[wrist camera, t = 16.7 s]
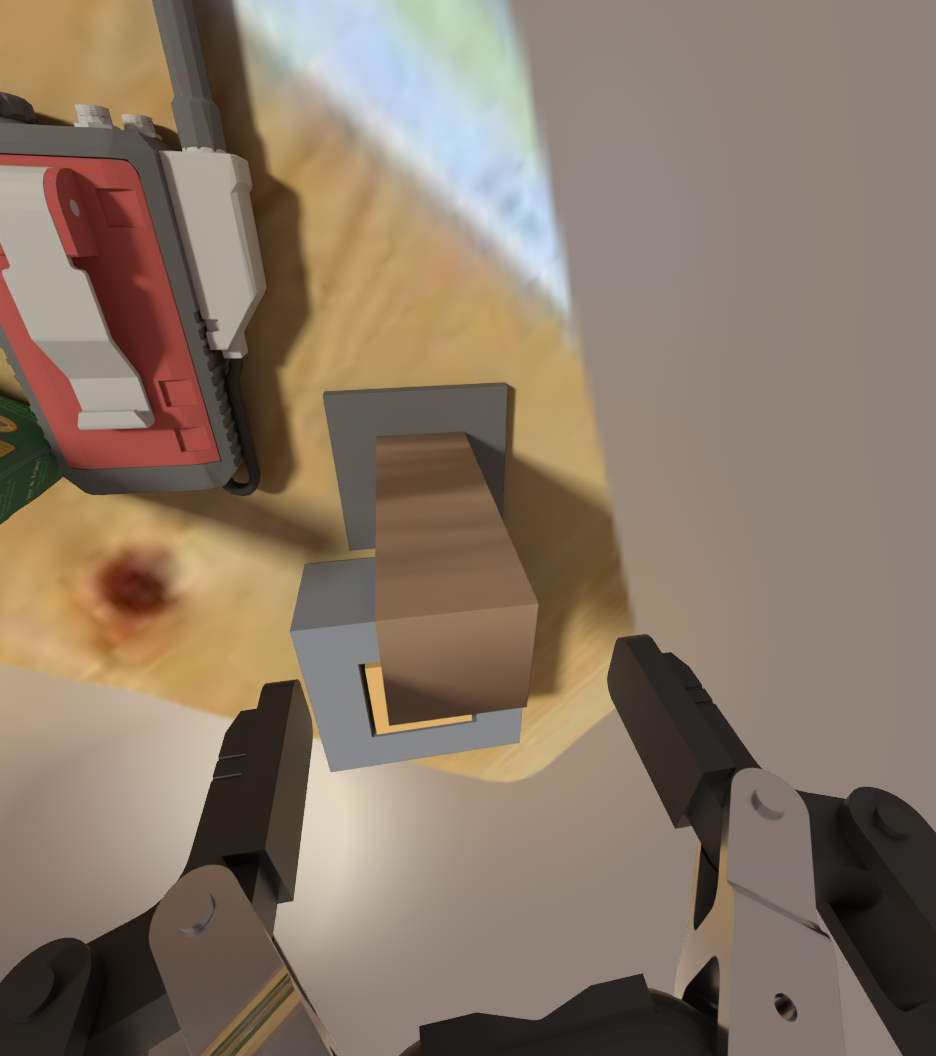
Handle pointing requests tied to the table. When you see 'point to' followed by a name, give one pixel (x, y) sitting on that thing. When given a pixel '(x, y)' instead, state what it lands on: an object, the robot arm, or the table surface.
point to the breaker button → (380, 707)
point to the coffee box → (23, 458)
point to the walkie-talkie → (132, 285)
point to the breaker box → (340, 679)
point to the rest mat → (409, 413)
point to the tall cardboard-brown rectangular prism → (446, 585)
